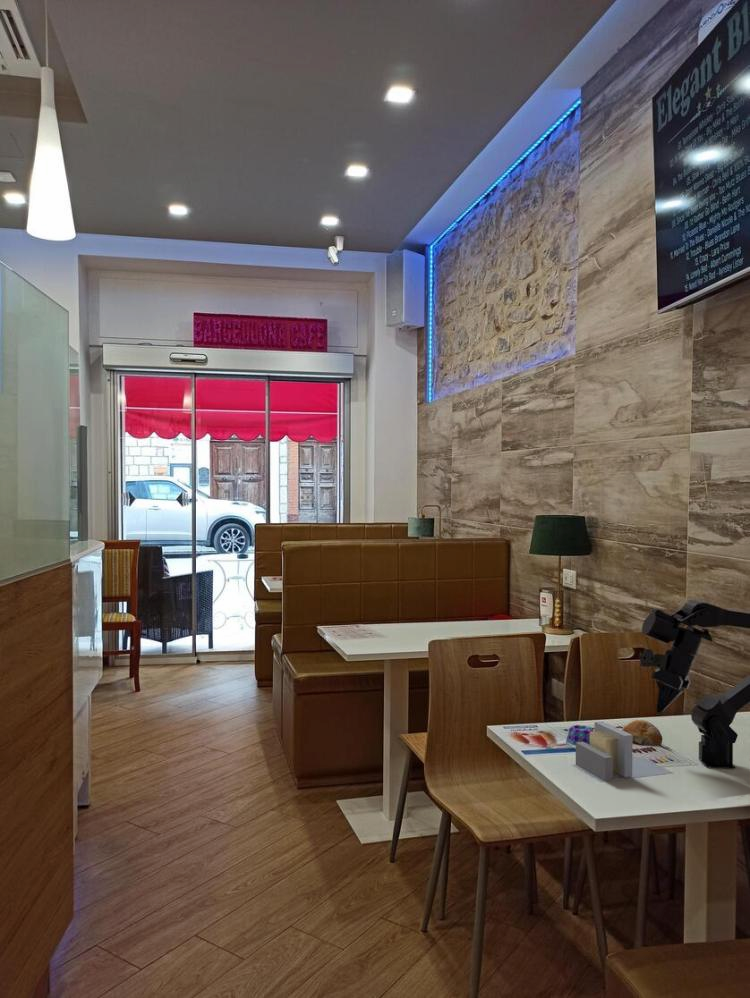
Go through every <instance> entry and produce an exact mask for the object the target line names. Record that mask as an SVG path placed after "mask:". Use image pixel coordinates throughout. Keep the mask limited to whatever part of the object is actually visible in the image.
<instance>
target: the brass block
mask: <svg viewBox="0 0 750 998" xmlns="http://www.w3.org/2000/svg"><path fill="white" fill-rule="evenodd" d="M590 746H592V747H594V748H596V749H598V750H600V751H602V752H604V753H606V754H608V755H610V756H612V757H613V775H617V747H618V738H616V737H613V736H611V735H609V734H607V733H605V732H603V731H595V730H593V732H590Z"/></svg>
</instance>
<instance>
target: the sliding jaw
mask: <svg viewBox="0 0 750 998" xmlns="http://www.w3.org/2000/svg"><path fill="white" fill-rule="evenodd" d="M622 730H623V729H620V728H617V727H616V726H614V725H611V724H609V723H607V722H605V721H602V720H601V721H600V720H599V721H594V731H603V732H605V733H607V734H609V735H611V736H613V737H616V738H618V747H617V774H619V775H621V776H623V777H624V778H625V777H632V758H633V744H634V743H633V735H631V734H629V733H627V732H625V731H622Z"/></svg>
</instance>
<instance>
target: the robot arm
mask: <svg viewBox="0 0 750 998" xmlns="http://www.w3.org/2000/svg"><path fill="white" fill-rule="evenodd" d="M680 625H684V626H686V627H682V626H680ZM695 626H698V627H701V628H702V629H700V628H696V627H695ZM724 626H729V627H735V628H736V627H737V628H744V629H750V611H742V610H734V609H727V608H723V607H720V606H717V605H714V604H710V603H708V602H704V601H700V600H697V599H689V600H687V601H686V602H685V603H684V604H683V606H682V608H680V609H679V610H677V611H675V612H674V613H672V614H668V613H665V612H663V611H662V610H660V609H658V608H652V611H651V612H650V613H649V614H648V615H647V617H646V618H644V620H643V623H642V626H641V633H642V635H643V636H645V637H649V638H650V639H651V638H652V639H653V640H656V641H659V642H660V643H663V644H669V643H670V642H672V643H671V646H670V648H669V649H666V650H665V652H664V654H659V653H656V652H654V650H653V649H651V648H649V649H648V648H645V649H644V651H643V652H639V655H638V656H639V657H638V659H639V667H644V668H649V667H657V669H654V670H653V672H652V675H651V678H652V679H654V681H655V683H656V685H657V687H658V697H657V702H656V712H657V713H659V714H662V712H664V711H665V710H666V709H667V708H668V707H669V706H670V705H671V704H672V703H673V702H674V701H675V700H676V699H677V698H678V697H679V696H680V695H681V694H682V693H683V692H685V691H684V690H683V689H685V690H689V688H690V686H691V685H690V684H691V680H690V678H689V676H688V675H689V673H690V671H691V668H692V665H694V664H695V662H696V660H695V658H696V656H697V653H698V652H699V649H700V645H702V644H701V643H702V641H703V640H706V641H708V642H713V637H712V636H711V634H710V631H709V629H707V628H718V627H724ZM682 688H683V689H682ZM749 703H750V674H748V675H747V676H746V677H744V678H743V679H742V680H740V681H739V682H738V683H736V684H734V686H732V687H731V688H730V689H728V690H727V691H725V693H723V694H721V695H719V696H716V697H715V696H714V695H712V694H710V693H707V694H705V695H704V696H703V698H702V699H701V700H699V701H695V702H694V705H695V706H693V708H692V710H691V714H690V715H691V717H690V718H691V721H692V723H693V724H694V725H695V726H696V727H697V729H698V732H699V733H700V734H701V735H700V738H701V739H700V740H699V742H698V760H699V761H700V762H701V763H702V764H703V765H704V766H705V767H706V768H714V769H715V768H716V769H736V768H737V767H736V765H735V764H734V758H733V757H734V744H735V743H737V742H736V741H737V739H738V733H737V732H736V731H735V730H734V729H733V728H732V727H731V724H733V722H734V719H735V717H736V714H737V713H738V711H740V710H742V709H743V708H744V707H745V706H747V705H748V704H749Z"/></svg>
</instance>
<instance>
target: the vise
mask: <svg viewBox="0 0 750 998" xmlns="http://www.w3.org/2000/svg"><path fill="white" fill-rule="evenodd" d="M571 766H573V767H575V768H576V769H577V770H579V771H581V772H583V773H585V774H586V775H588V776H590V777H591V778H593V779H595V780H596V781H598V782H600V783H606V782H613V781H620V780H630V779H636V778H637V779H638V778H645V777H653V776H661V775H662V776H663V775H669V774H674V772H673V771H671V770H669V769H666V768H665V767H663V766H661V765H659V764H656V763H654V762H652V761H651V760H648V759H646V758H644V757H642V756H639V757H638V756H637V757H632V777H625V778H624V777H623V776H621V775H619V774H617V775H613V757H612V756H610V755H608V754H606V753H604V752H602V751H600V750H598V749H596V748H594V747H592V746H590V745H589V744H587V743H585V742H576V745H575V764H571Z"/></svg>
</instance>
